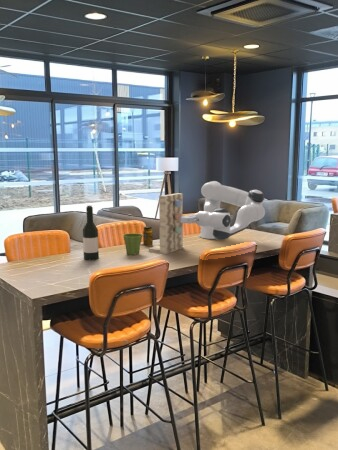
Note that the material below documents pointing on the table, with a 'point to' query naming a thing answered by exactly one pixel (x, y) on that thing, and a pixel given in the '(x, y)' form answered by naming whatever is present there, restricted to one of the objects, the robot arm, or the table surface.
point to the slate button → (177, 203)
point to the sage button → (177, 230)
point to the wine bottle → (90, 237)
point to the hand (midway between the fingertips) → (181, 217)
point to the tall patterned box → (169, 224)
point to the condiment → (147, 237)
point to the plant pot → (132, 243)
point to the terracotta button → (177, 216)
